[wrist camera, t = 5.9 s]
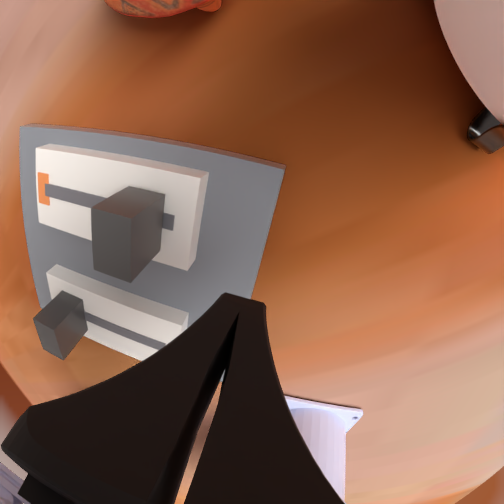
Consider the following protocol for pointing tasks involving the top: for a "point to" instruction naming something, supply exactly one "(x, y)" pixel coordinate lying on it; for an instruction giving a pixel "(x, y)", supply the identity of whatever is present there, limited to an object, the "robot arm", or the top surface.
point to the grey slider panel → (172, 239)
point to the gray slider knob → (126, 232)
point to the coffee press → (479, 61)
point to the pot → (160, 7)
